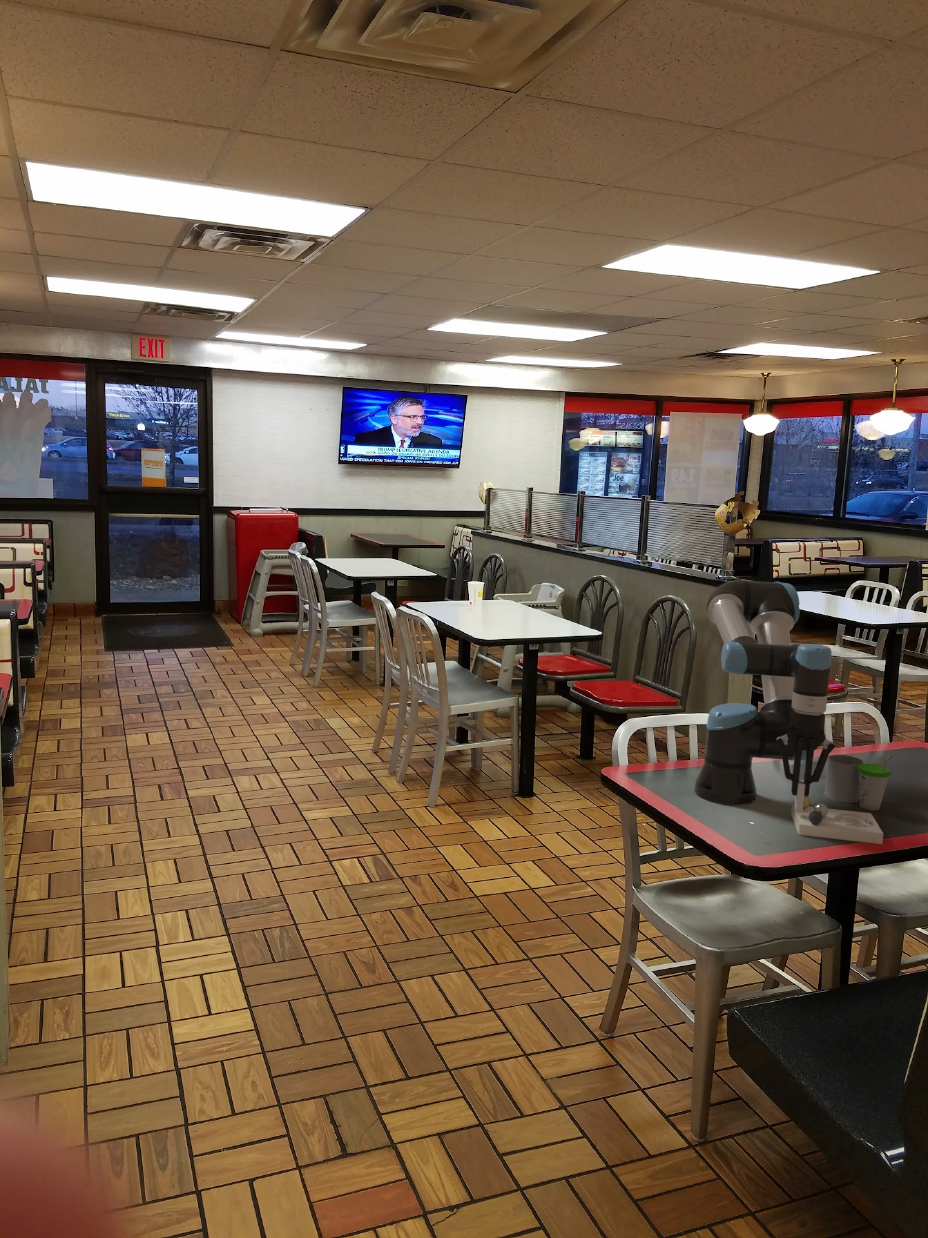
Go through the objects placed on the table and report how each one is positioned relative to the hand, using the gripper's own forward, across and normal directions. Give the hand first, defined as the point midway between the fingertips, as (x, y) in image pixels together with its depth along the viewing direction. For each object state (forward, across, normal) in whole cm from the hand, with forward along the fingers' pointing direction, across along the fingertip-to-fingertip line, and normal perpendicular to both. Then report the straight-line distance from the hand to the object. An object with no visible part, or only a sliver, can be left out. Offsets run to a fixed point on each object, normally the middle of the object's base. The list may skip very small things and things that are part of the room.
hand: (798, 808), depth 219 cm
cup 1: (+4, +14, +25) cm, 29 cm away
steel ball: (0, +5, +1) cm, 5 cm away
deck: (+4, +9, +1) cm, 10 cm away
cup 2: (+4, +19, +19) cm, 27 cm away
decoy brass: (0, +2, +5) cm, 6 cm away
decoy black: (0, +3, -4) cm, 5 cm away
